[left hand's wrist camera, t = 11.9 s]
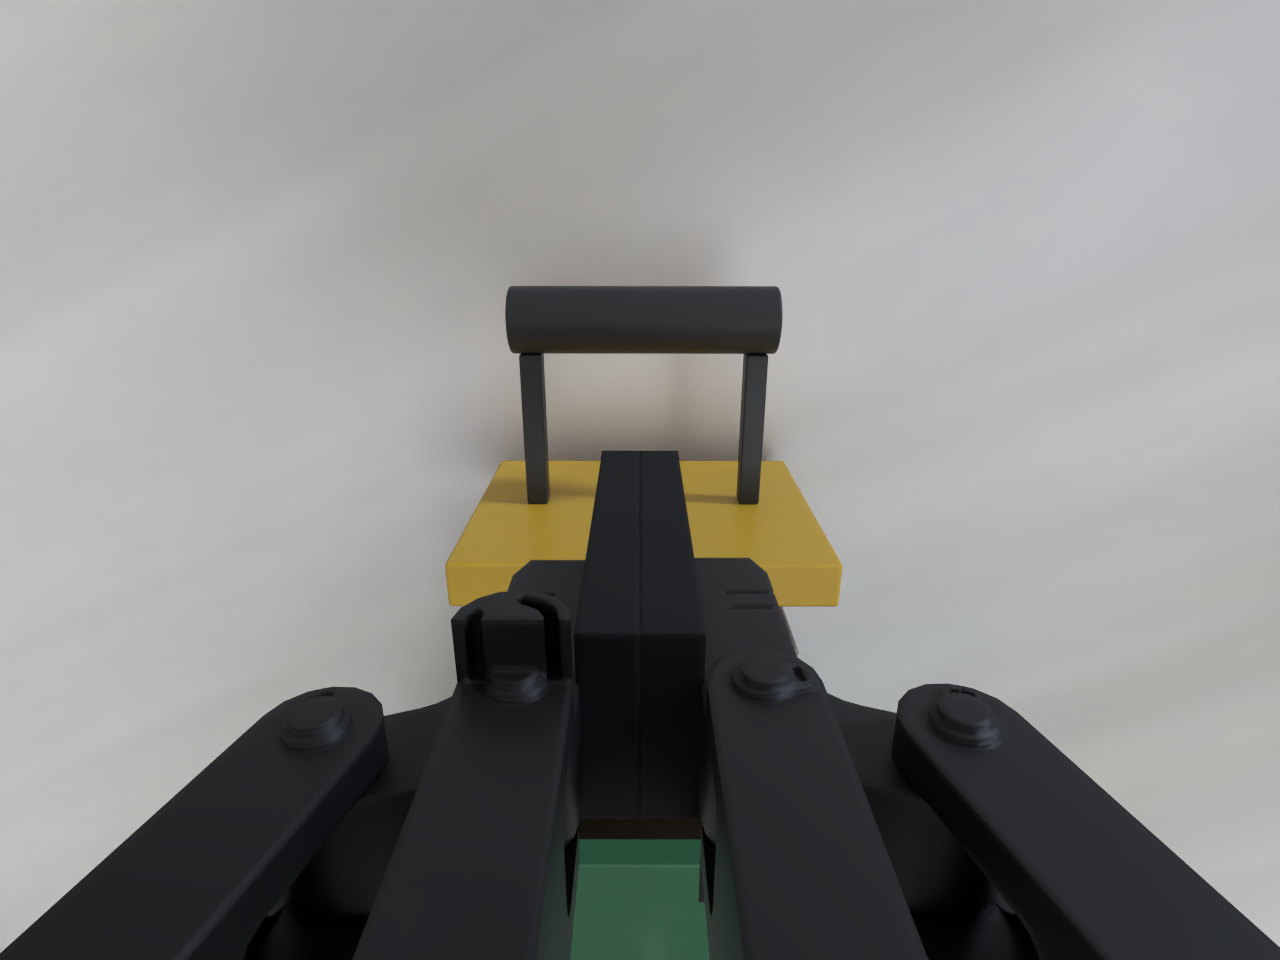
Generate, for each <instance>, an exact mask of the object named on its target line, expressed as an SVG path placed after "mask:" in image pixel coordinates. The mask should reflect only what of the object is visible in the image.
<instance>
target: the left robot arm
mask: <svg viewBox="0 0 1280 960" xmlns="http://www.w3.org/2000/svg"><path fill="white" fill-rule="evenodd" d="M451 625H452V634H453V644H454V653H455V663H456V672H457V681H458V683H457V685H456V688H455V691H454V693H453V696H452V697H450V698H448V699H446V700H443V701H441V702H439V703H437V704H433V705H430V706H427V707H423V708H420V709H415V710H411V711H406V712H401V713H397V714H392V715H387V716H384V715H383V709H382V704H381V703H380V702H379V701H378V700H377V699H376V697H375V696H374V695H373V694H372V693H369V692H366V691H363V690H360V689H357V688H354V687H329V688H324V689H318V690H314V691H309V692H306V693H304V694H301V695H299V696H296V697H294V698H292V699H289V700H287V701H284V702H283V703H281V704H280V705H278V706H277V707H275V708H274V709H273V710H271V711H270V712H268V713H267V714H265V715H264V716H263V717H262V718H261V719H259V720H258V721H257V722H256V723H255V724H254V725H253V726H252V727H251V728H249V729H248V730H247V731H246V732H245V733H244V734H243V735H242V736H241V737H239V738H238V739H237V740H236V741H235V742H234V743H233V744H232V745H231V746H229V747H228V748H227V749H226V750H225V751H224V752H223V753H222V754H221V755H220V756H218V757H217V758H216V759H215V760H214V761H213V762H212V763H211V764H210V765H208V766H207V767H206V768H205V769H204V770H203V771H202V772H201V773H200V774H198V775H197V776H196V777H195V778H194V779H193V780H192V781H191V782H190V783H189V784H187V785H186V786H185V787H184V788H183V789H182V790H181V791H180V792H179V793H177V794H176V795H175V796H174V797H173V798H172V799H171V800H170V801H169V802H167V803H166V804H165V805H164V806H163V807H162V808H161V809H160V810H159V811H157V812H156V813H155V814H154V815H153V816H152V817H151V818H150V819H149V820H148V821H146V822H145V823H144V824H143V825H142V826H141V827H140V828H139V829H138V830H136V831H135V832H134V833H133V834H132V835H131V836H130V837H129V838H128V839H126V840H125V841H124V842H123V843H122V844H121V845H120V846H119V847H118V848H116V849H115V850H114V851H113V852H112V853H111V854H110V855H109V856H108V857H107V858H105V859H104V860H103V861H102V862H101V863H100V864H99V865H98V866H97V867H95V868H94V869H93V870H92V871H91V872H90V873H89V874H88V875H87V876H85V877H84V878H83V879H82V880H81V881H80V882H79V883H78V884H77V885H75V886H74V887H73V888H72V889H71V890H70V891H69V892H68V893H67V894H66V895H64V896H63V897H62V898H61V899H60V900H59V901H58V902H57V903H56V904H54V905H53V906H52V907H51V908H50V909H49V910H48V911H47V912H46V913H44V914H43V915H42V916H41V917H40V918H39V919H38V920H37V921H36V922H34V923H33V924H32V925H31V926H30V927H29V928H28V929H27V930H26V931H25V932H23V933H22V934H21V935H20V936H19V937H18V938H17V939H16V940H15V941H13V942H12V943H11V944H10V945H9V946H8V947H7V948H6V949H5V950H3V951H2V952H1V953H0V960H570V958H571V947H572V936H573V925H574V914H575V903H576V892H577V880H578V869H579V858H580V850H579V824H578V823H579V813H580V811H581V819H699V811H700V809H701V819H702V824H701V850H700V876H699V901H698V902H705V913H706V924H707V935H708V946H709V957H710V960H1280V947H1279V946H1278V945H1276V944H1275V943H1274V942H1273V941H1272V940H1271V939H1270V938H1269V937H1267V936H1266V935H1265V934H1264V933H1263V932H1262V931H1261V930H1260V929H1259V928H1257V927H1256V926H1255V925H1254V924H1253V923H1252V922H1251V921H1250V920H1249V919H1247V918H1246V917H1245V916H1244V915H1243V914H1242V913H1241V912H1240V911H1238V910H1237V909H1236V908H1235V907H1234V906H1233V905H1232V904H1231V903H1230V902H1228V901H1227V900H1226V899H1225V898H1224V897H1223V896H1222V895H1221V894H1219V893H1218V892H1217V891H1216V890H1215V889H1214V888H1213V887H1212V886H1211V885H1209V884H1208V883H1207V882H1206V881H1205V880H1204V879H1203V878H1202V877H1200V876H1199V875H1198V874H1197V873H1196V872H1195V871H1194V870H1193V869H1192V868H1190V867H1189V866H1188V865H1187V864H1186V863H1185V862H1184V861H1183V860H1181V859H1180V858H1179V857H1178V856H1177V855H1176V854H1175V853H1174V852H1173V851H1171V850H1170V849H1169V848H1168V847H1167V846H1166V845H1165V844H1164V843H1163V842H1161V841H1160V840H1159V839H1158V838H1157V837H1156V836H1155V835H1154V834H1152V833H1151V832H1150V831H1149V830H1148V829H1147V828H1146V827H1145V826H1144V825H1142V824H1141V823H1140V822H1139V821H1138V820H1137V819H1136V818H1135V817H1133V816H1132V815H1131V814H1130V813H1129V812H1128V811H1127V810H1126V809H1125V808H1123V807H1122V806H1121V805H1120V804H1119V803H1118V802H1117V801H1116V800H1114V799H1113V798H1112V797H1111V796H1110V795H1109V794H1108V793H1107V792H1106V791H1104V790H1103V789H1102V788H1101V787H1100V786H1099V785H1098V784H1097V783H1096V782H1094V781H1093V780H1092V779H1091V778H1090V777H1089V776H1088V775H1087V774H1085V773H1084V772H1083V771H1082V770H1081V769H1080V768H1079V767H1078V766H1077V765H1075V764H1074V763H1073V762H1072V761H1071V760H1070V759H1069V758H1068V757H1066V756H1065V755H1064V754H1063V753H1062V752H1061V751H1060V750H1059V749H1058V748H1056V747H1055V746H1054V745H1053V744H1052V743H1051V742H1050V741H1049V740H1047V739H1046V738H1045V737H1044V736H1043V735H1042V734H1041V733H1040V732H1039V731H1037V730H1036V729H1035V728H1034V727H1033V726H1032V725H1031V724H1030V723H1028V722H1027V721H1026V720H1025V719H1024V718H1023V717H1022V716H1021V715H1020V714H1018V713H1017V712H1016V711H1014V710H1013V709H1012V708H1010V707H1009V706H1007V705H1006V704H1004V703H1003V702H1001V701H1000V700H998V699H997V698H995V697H992V696H990V695H987V694H985V693H982V692H980V691H978V690H975V689H973V688H968V687H964V686H959V685H952V684H925V685H922V686H919V687H917V688H914V689H911V690H908V691H907V693H906V694H905V695H904V696H903V697H902V698H901V699H900V700H899V702H898V709H897V713H893V712H889V711H884V710H879V709H875V708H870V707H865V706H861V705H857V704H854V703H850V702H847V701H843V700H841V699H839V698H837V697H835V696H832V695H830V694H828V693H827V692H826V689H825V687H824V684H823V682H822V680H821V679H820V677H819V676H818V674H817V673H816V672H815V670H814V669H813V668H812V667H810V666H809V665H807V664H806V663H804V662H803V661H802V660H800V659H799V658H797V657H796V654H795V651H794V648H793V645H792V642H791V640H790V637H789V634H788V631H787V628H786V625H785V622H784V619H783V617H782V614H781V611H780V609H779V605H778V602H777V599H776V596H775V594H774V593H773V588H772V585H771V582H770V579H769V576H768V573H767V572H766V571H764V570H763V569H762V568H761V567H760V566H758V565H757V564H756V563H755V562H754V561H752V560H751V559H750V558H694V552H693V546H692V539H691V533H690V526H689V520H688V514H687V507H686V501H685V494H684V488H683V481H682V475H681V468H680V462H679V456H678V451H602V455H601V462H600V468H599V475H598V481H597V488H596V494H595V501H594V507H593V514H592V520H591V526H590V533H589V539H588V546H587V552H586V559H585V560H530V561H529V562H528V563H527V564H526V565H524V566H523V567H522V568H521V569H520V570H519V571H517V572H516V573H515V574H514V575H513V576H512V579H511V582H510V585H509V588H508V591H506V592H497V593H494V594H490V595H487V596H484V597H480V598H477V599H475V600H474V601H472V602H470V603H468V604H467V605H465V606H463V607H462V608H460V609H459V611H458V612H457V613H456V614H455V616H454V617H453V618H452V619H451Z"/></svg>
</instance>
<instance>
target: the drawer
mask: <svg viewBox="0 0 1280 960" xmlns="http://www.w3.org/2000/svg"><path fill="white" fill-rule="evenodd" d="M781 329H782V299H781V293H780V290H779V288H778V287H754V286H511V287H509V289H508V292H507V298H506V331H507V339H508V344H509V347H510V350H511V352H512V353H521V354H520V356H519V361H520V379H521V396H522V414H523V431H524V448H525V461H502V462H501V464H500V466H499V468H498V469H497V471H496V473H495V475H494V477H493V479H492V480H491V482H490V484H489V486H488V488H487V490H486V491H485V493H484V495H483V497H482V499H481V501H480V502H479V504H478V506H477V508H476V510H475V511H474V513H473V515H472V517H471V519H470V521H469V522H468V524H467V526H466V528H465V530H464V532H463V533H462V535H461V537H460V539H459V541H458V543H457V544H456V546H455V548H454V550H453V552H452V554H451V555H450V557H449V559H448V561H447V563H446V565H445V568H446V578H447V587H448V597H449V604H450V605H451V606H465V605H467V604H468V603H470V602H472V601H474V600H475V599H477V598H480V597H484V596H487V595H490V594H494V593H497V592H506V591H508V588H509V585H510V582H511V579H512V576H513V575H514V574H515V573H516V572H517V571H519V570H520V569H521V568H522V567H523V566H524V565H526V564H527V563H528V562H529V561H530V560H585V559H586V552H587V546H588V539H589V533H590V526H591V520H592V514H593V507H594V501H595V494H596V488H597V481H598V475H599V468H600V462H601V461H548V443H547V421H546V399H545V377H544V355H543V353H696V354H744V360H743V379H742V398H741V417H740V437H739V456H738V461H679V462H680V468H681V475H682V481H683V488H684V494H685V501H686V507H687V514H688V520H689V526H690V533H691V539H692V546H693V552H694V558H750V559H751V560H752V561H754V562H755V563H756V564H757V565H758V566H760V567H761V568H762V569H763V570H764V571H766V572H767V573H768V576H769V579H770V582H771V585H772V588H773V593H774V594H775V596H776V599H777V602H778V605H779V609H780V611H781V614H782V617H783V619H784V622H785V625H786V628H787V631H788V634H789V637H790V640H791V642H792V645H793V648H794V651H795V654H796V657H797V658H798V649H797V646H796V644H795V641H794V638H793V635H792V632H791V630H790V627H789V624H788V621H787V618H786V616H785V613H784V610H783V607H782V606H837V605H838V601H839V592H840V583H841V574H842V564H841V562H840V560H839V559H838V557H837V555H836V553H835V552H834V550H833V548H832V546H831V544H830V543H829V541H828V539H827V537H826V536H825V534H824V532H823V530H822V529H821V527H820V525H819V523H818V522H817V520H816V518H815V516H814V515H813V513H812V511H811V509H810V507H809V506H808V504H807V502H806V500H805V499H804V497H803V495H802V493H801V492H800V490H799V488H798V486H797V485H796V483H795V481H794V479H793V477H792V476H791V474H790V472H789V470H788V469H787V467H786V465H785V463H784V462H783V461H761V460H762V444H763V429H764V413H765V398H766V382H767V366H768V355H767V354H774V353H775V352H776V351H777V349H778V346H779V342H780V337H781ZM578 824H579V839H701V824H702V819H701V809H700V811H699V819H581V811H580V813H579V823H578Z"/></svg>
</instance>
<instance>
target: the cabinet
mask: <svg viewBox="0 0 1280 960" xmlns="http://www.w3.org/2000/svg"><path fill="white" fill-rule="evenodd" d="M579 850H580V858H579V869H578V880H577V892H576V903H575V914H574V925H573V936H572V947H571V958H570V960H710V957H709V946H708V935H707V924H706V913H705V902H698V901H699V876H700V850H701V839H579Z"/></svg>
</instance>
